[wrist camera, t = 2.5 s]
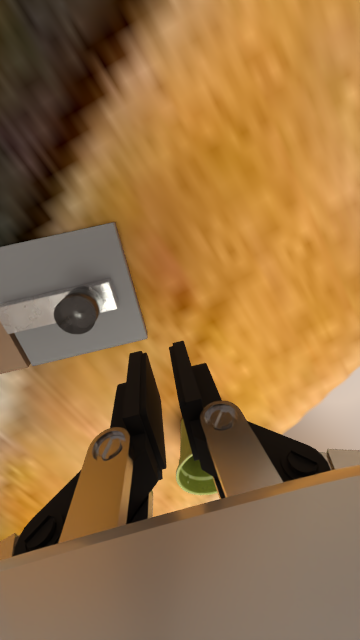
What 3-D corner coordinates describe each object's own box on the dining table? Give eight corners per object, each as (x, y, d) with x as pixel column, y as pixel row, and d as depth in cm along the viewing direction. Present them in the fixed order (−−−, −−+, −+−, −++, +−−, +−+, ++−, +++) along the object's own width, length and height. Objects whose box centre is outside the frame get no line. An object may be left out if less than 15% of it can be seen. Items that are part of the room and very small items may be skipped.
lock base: (147, 333, 31) (147, 338, 30) (-82, 388, 30) (-92, 396, 29) (115, 222, 26) (113, 222, 24) (-170, 284, 24) (-189, 288, 23)
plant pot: (158, 425, 38) (161, 479, 30) (199, 389, 37) (214, 436, 29) (196, 449, 42) (208, 503, 34) (236, 417, 40) (258, 466, 32)
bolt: (119, 305, 28) (113, 326, 22) (18, 328, 27) (-14, 356, 22) (110, 275, 26) (100, 290, 21) (2, 300, 26) (-36, 322, 20)
